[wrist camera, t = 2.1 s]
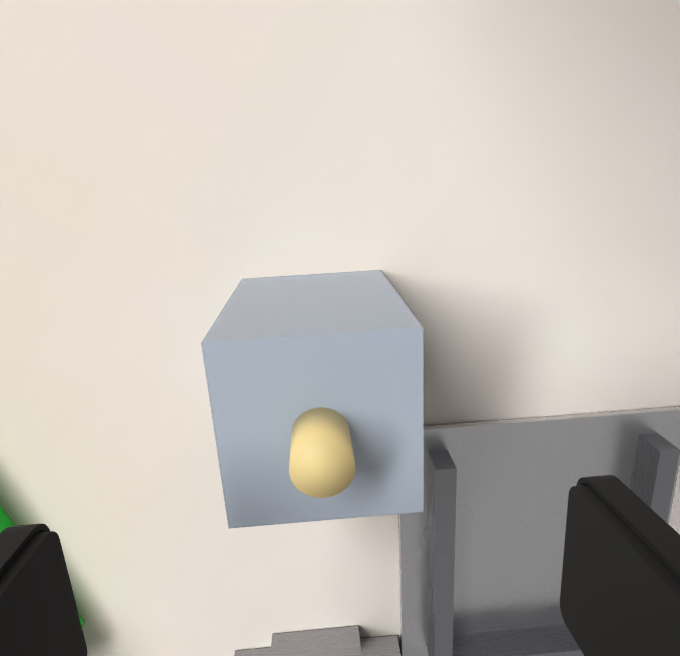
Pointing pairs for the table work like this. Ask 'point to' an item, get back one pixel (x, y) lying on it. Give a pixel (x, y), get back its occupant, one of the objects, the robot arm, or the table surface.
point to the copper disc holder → (327, 644)
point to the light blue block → (317, 399)
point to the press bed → (515, 524)
